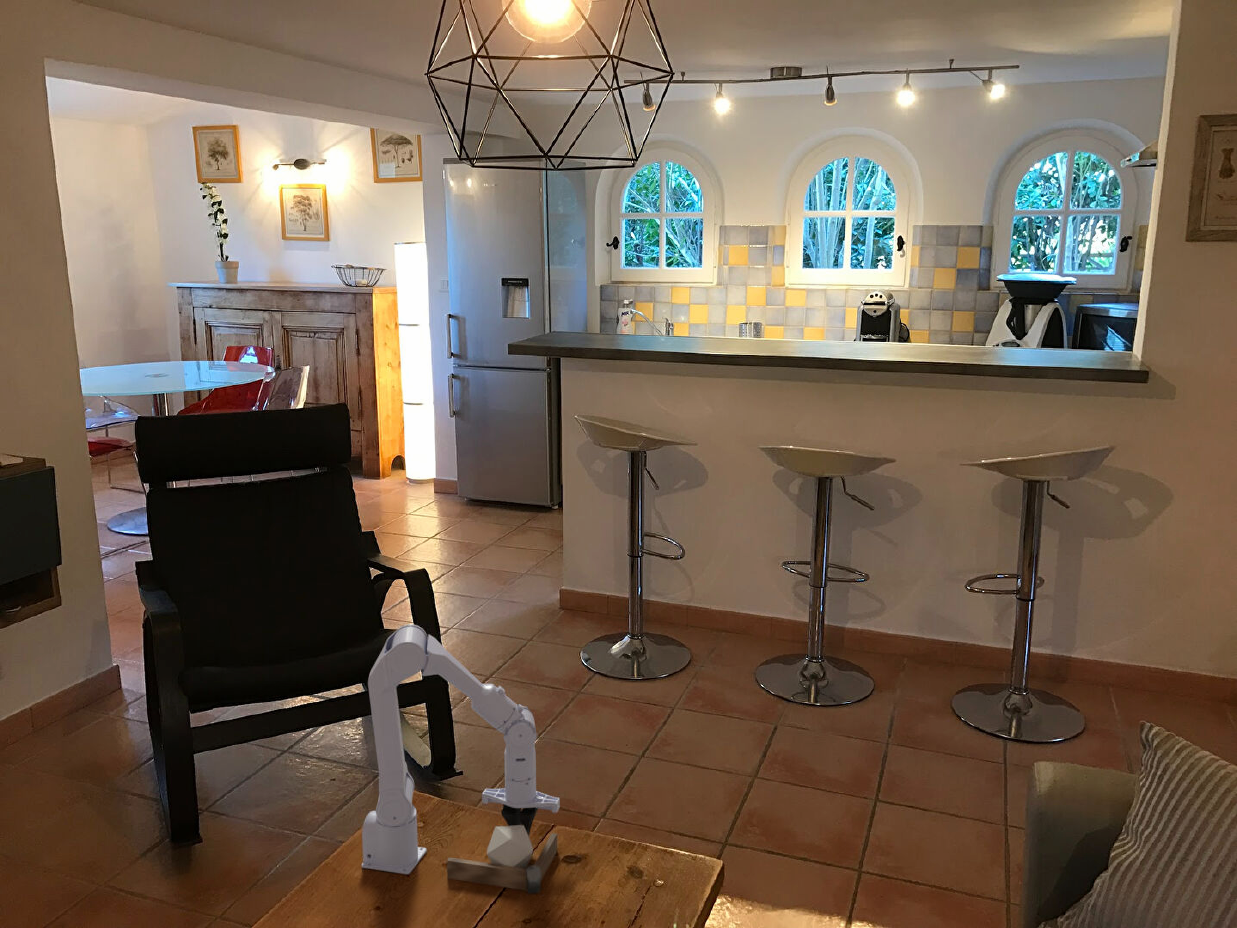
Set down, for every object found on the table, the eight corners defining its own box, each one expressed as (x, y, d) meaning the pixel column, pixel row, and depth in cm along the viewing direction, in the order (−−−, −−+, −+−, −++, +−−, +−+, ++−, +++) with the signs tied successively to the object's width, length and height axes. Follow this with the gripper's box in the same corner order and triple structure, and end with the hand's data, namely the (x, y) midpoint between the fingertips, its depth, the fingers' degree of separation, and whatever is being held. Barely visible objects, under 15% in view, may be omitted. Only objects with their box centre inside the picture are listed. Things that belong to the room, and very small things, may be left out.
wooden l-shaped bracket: (445, 880, 179) (445, 860, 178) (474, 838, 192) (474, 819, 191) (537, 894, 175) (537, 873, 174) (560, 850, 188) (560, 831, 187)
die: (517, 891, 176) (544, 841, 178) (474, 867, 176) (502, 817, 178) (516, 880, 184) (543, 832, 186) (476, 857, 184) (503, 809, 186)
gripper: (564, 768, 187) (564, 834, 190) (490, 759, 190) (492, 824, 193) (553, 786, 180) (553, 855, 183) (477, 777, 184) (479, 844, 186)
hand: (521, 840), depth 188 cm, fingers closed
